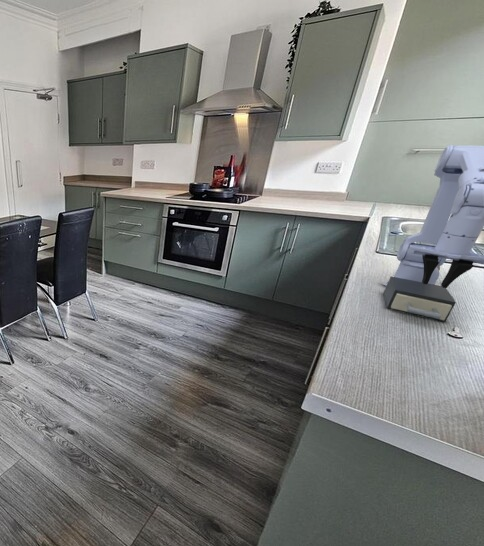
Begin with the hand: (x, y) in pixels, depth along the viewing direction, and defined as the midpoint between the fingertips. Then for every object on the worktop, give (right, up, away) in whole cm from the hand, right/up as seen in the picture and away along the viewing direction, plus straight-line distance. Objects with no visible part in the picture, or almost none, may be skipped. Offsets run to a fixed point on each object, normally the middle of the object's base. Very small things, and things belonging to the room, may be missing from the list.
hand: (433, 284), depth 81 cm
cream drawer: (+3, -7, +7) cm, 11 cm away
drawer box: (+6, -7, +11) cm, 14 cm away
